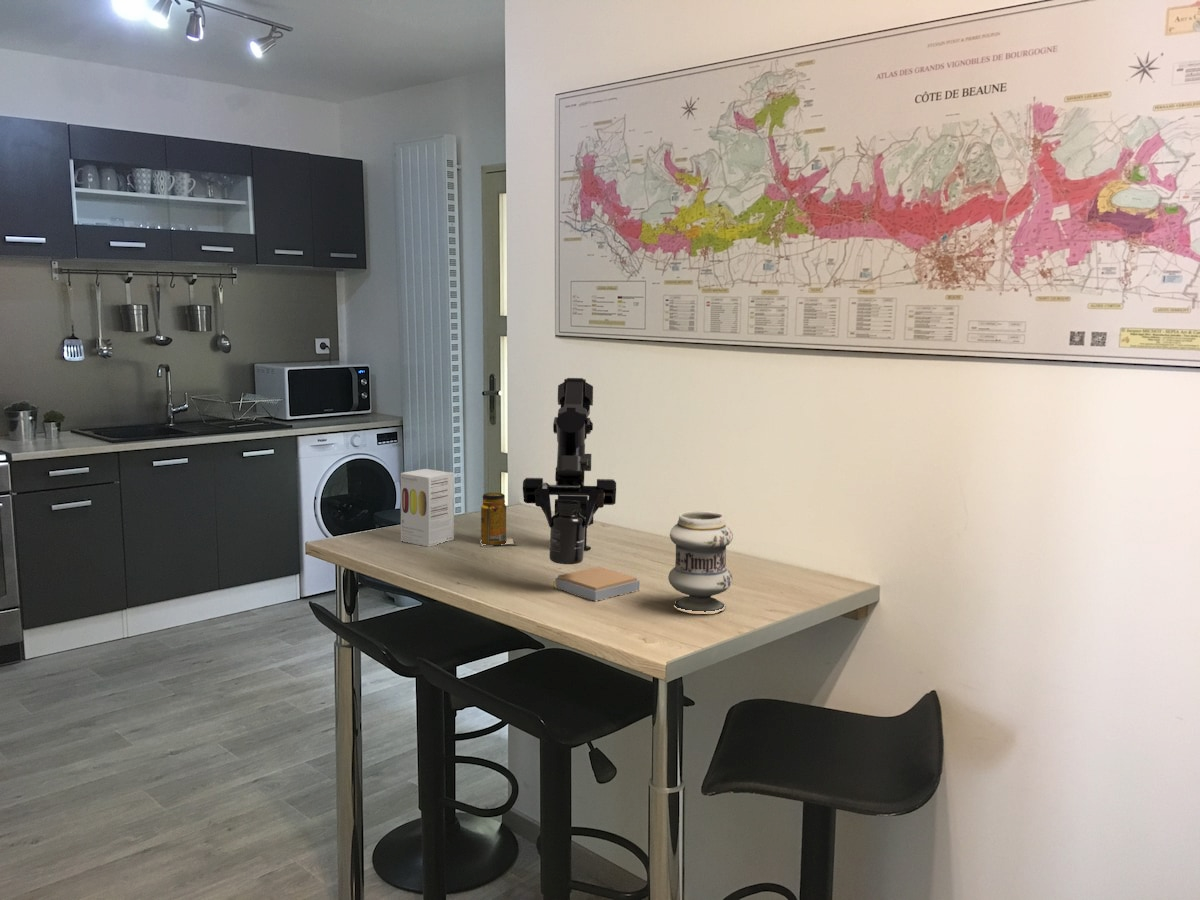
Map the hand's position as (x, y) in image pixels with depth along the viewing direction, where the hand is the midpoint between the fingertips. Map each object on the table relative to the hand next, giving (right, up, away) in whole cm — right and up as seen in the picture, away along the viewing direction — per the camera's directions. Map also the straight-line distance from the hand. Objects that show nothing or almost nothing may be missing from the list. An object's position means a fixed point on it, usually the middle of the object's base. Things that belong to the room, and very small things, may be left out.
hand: (568, 526), depth 184 cm
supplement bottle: (0, -7, +2) cm, 8 cm away
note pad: (+6, -13, +4) cm, 15 cm away
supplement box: (-35, -7, +42) cm, 55 cm away
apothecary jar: (+25, -15, -6) cm, 30 cm away
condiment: (-19, -7, +41) cm, 46 cm away
